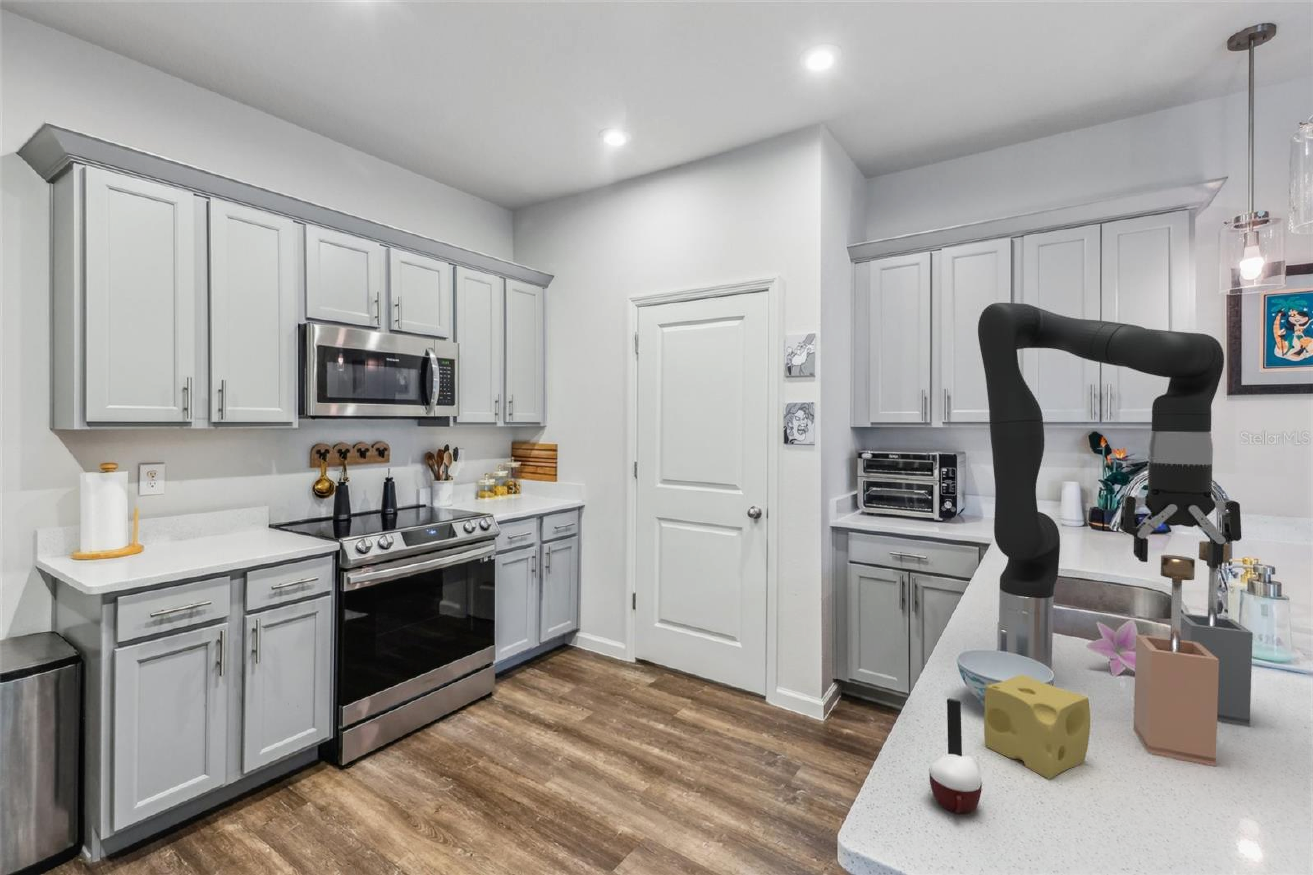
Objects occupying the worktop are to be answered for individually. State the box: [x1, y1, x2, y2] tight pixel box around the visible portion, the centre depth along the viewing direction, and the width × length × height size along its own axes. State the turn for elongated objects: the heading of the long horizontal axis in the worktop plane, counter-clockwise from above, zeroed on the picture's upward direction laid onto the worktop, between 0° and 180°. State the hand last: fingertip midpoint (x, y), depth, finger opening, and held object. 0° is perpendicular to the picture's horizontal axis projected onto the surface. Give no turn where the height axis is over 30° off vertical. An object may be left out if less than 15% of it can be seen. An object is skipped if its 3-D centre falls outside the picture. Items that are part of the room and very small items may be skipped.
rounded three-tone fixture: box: [928, 697, 983, 814], centre depth 80 cm, size 10×6×12 cm, turn 136°
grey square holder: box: [1180, 612, 1253, 728], centre depth 106 cm, size 8×8×16 cm
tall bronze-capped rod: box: [1198, 540, 1231, 627], centre depth 106 cm, size 5×5×16 cm
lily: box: [1085, 619, 1139, 677], centre depth 124 cm, size 12×12×10 cm
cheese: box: [983, 675, 1091, 780], centre depth 92 cm, size 10×11×10 cm
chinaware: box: [956, 648, 1055, 709], centre depth 107 cm, size 15×15×8 cm
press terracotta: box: [1133, 634, 1219, 767], centre depth 94 cm, size 8×8×16 cm
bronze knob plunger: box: [1160, 554, 1196, 653], centre depth 94 cm, size 5×5×16 cm
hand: (1177, 564), depth 94 cm, fingers open, 8 cm apart
